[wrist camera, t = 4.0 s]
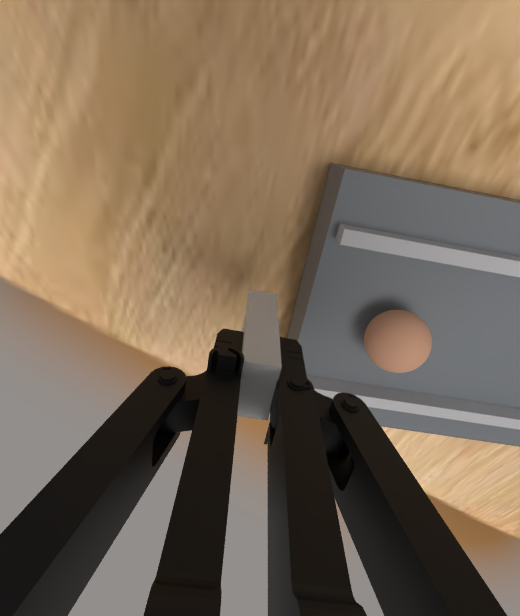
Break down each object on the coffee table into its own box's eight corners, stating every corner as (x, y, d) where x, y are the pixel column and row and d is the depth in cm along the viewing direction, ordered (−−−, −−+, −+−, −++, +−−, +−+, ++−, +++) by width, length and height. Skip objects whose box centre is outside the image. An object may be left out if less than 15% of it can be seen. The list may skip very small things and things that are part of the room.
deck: (330, 162, 20) (354, 172, 15) (722, 240, 22) (872, 275, 16) (276, 375, 27) (279, 433, 22) (574, 420, 29) (644, 485, 23)
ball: (368, 294, 19) (387, 324, 16) (425, 304, 20) (456, 336, 16) (350, 344, 21) (364, 381, 18) (403, 353, 21) (427, 390, 18)
